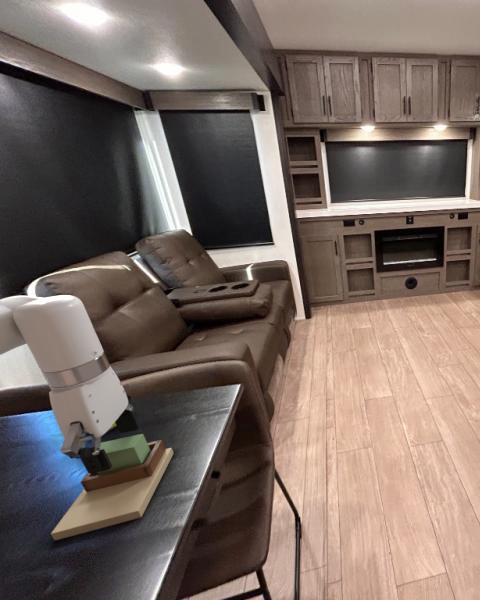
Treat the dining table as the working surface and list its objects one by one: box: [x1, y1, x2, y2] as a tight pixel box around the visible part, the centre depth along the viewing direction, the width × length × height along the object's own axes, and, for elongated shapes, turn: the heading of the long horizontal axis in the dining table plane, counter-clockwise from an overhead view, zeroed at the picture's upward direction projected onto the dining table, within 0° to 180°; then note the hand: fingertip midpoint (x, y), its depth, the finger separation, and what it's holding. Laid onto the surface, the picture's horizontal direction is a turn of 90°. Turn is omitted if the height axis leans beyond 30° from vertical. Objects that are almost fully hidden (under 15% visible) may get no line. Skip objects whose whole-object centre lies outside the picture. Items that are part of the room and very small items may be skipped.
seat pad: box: [50, 439, 175, 541], centre depth 57 cm, size 14×12×4 cm
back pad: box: [97, 433, 151, 475], centre depth 59 cm, size 4×7×6 cm, turn 105°
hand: (116, 448), depth 59 cm, fingers open, 9 cm apart
